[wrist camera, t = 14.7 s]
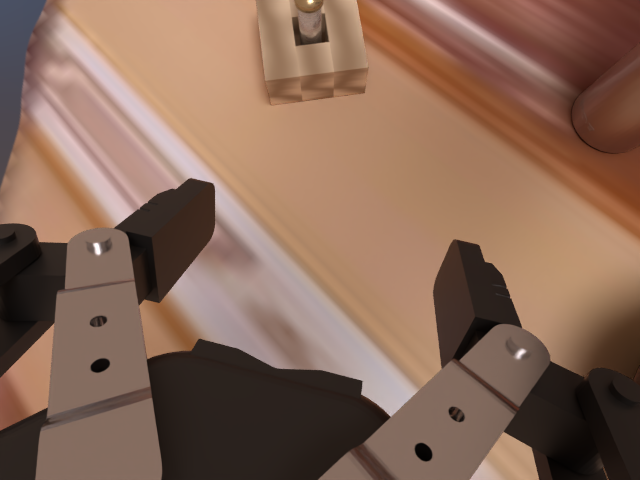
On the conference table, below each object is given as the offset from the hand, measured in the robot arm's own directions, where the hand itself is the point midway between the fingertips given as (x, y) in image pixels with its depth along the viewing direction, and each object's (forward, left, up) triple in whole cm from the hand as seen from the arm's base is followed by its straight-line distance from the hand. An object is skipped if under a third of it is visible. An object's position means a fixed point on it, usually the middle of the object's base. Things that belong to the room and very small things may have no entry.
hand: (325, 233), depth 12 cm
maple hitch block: (-2, -31, -31) cm, 43 cm away
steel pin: (-2, -30, -31) cm, 43 cm away
